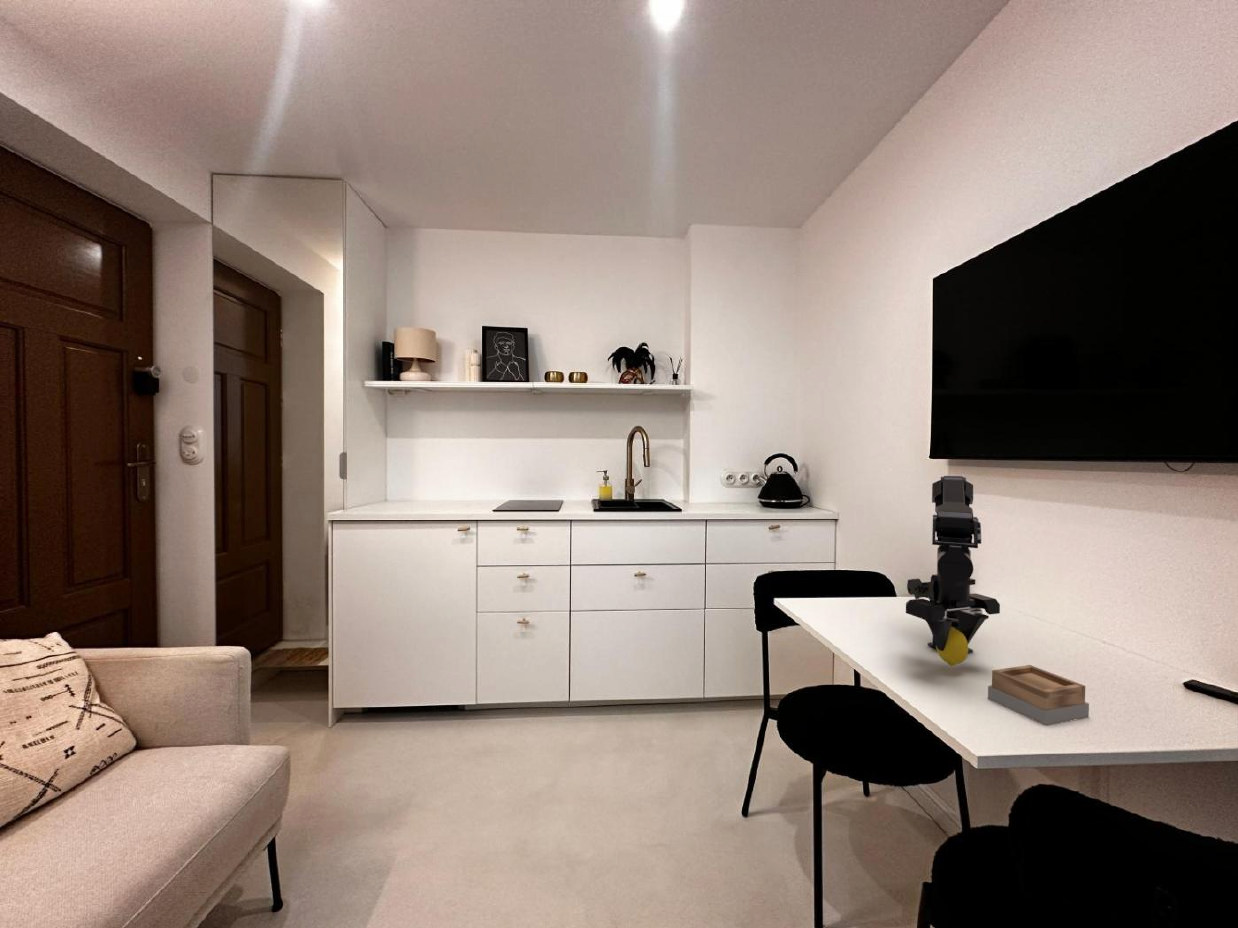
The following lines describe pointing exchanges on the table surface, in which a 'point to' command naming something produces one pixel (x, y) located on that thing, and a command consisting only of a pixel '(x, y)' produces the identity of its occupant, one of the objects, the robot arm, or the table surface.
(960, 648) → the lemon
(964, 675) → the table surface
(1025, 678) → the wooden tray
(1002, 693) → the bottom block
